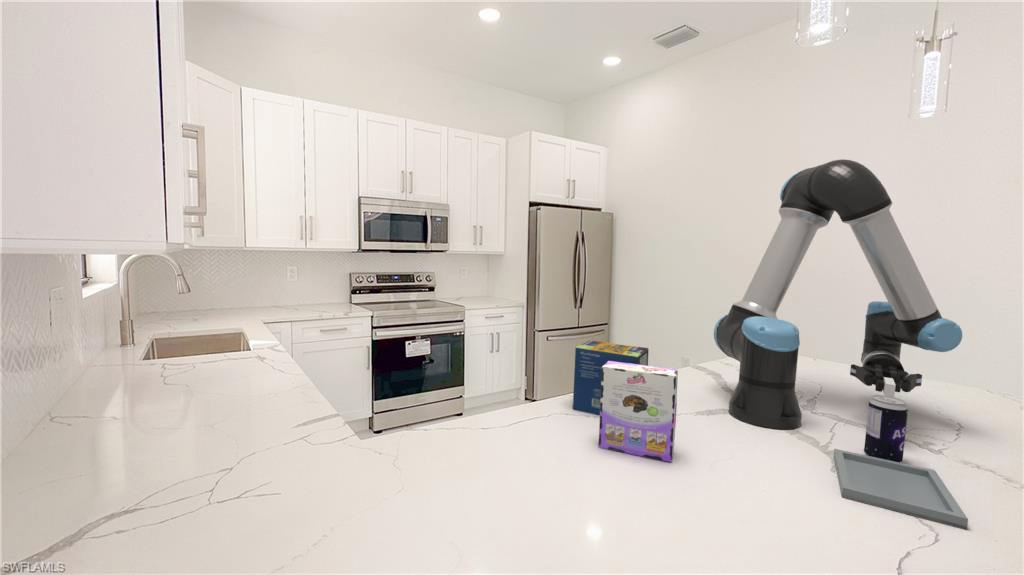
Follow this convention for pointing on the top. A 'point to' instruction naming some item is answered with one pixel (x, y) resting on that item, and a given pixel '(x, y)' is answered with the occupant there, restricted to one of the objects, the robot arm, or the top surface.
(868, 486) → the tray
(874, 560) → the top surface
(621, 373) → the candy box
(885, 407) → the beverage can
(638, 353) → the protein box
